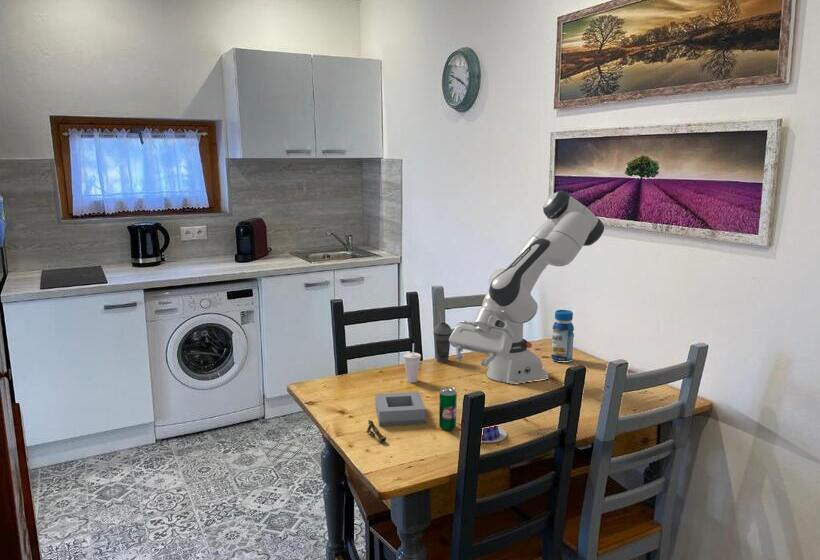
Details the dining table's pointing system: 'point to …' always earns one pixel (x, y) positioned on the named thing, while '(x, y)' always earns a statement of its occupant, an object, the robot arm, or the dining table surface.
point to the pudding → (493, 434)
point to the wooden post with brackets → (371, 425)
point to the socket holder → (400, 408)
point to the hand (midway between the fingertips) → (470, 362)
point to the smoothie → (412, 365)
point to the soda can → (447, 408)
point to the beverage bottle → (562, 336)
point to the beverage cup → (442, 341)
